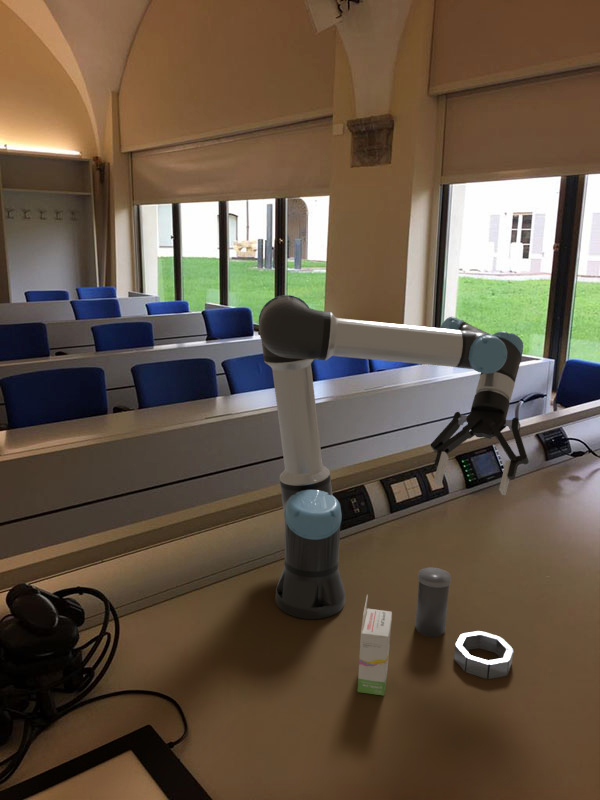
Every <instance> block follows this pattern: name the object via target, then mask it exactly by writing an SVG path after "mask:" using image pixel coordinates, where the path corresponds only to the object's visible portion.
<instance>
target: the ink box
mask: <svg viewBox="0 0 600 800" xmlns="http://www.w3.org/2000/svg"><path fill="white" fill-rule="evenodd" d="M368 595H369V594H366V597H365V603H364V608H363V613H362V620H361V626H360V627H361V628H360V641H359V642H360V643H359V644H360V645H359V657H358V658H359V659H358V660H359V661H358V675H357V677H358V678H357V693H363V694H367V695H368V694H369V695H376V696H385V691H386V685H387V676H388V669H389V659H390V657H389V655H390V645H391V644H390V643H391V630H392V622H393V621H392V618H393V612H392V611H391V610H390V611H389V610H383V609H380V610H379V609H375V608H374V609H373V608H369V607H368V608H367V606H368V605H367V604H368V599H369V598H368V597H369V596H368Z"/></svg>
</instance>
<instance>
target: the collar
mask: <svg viewBox="0 0 600 800" xmlns="http://www.w3.org/2000/svg"><path fill="white" fill-rule="evenodd" d="M477 649H481V650H484V651H488V652H492V653H494V654H496V655H497V656H498V658H494V659H489V660H488V659H484V658H482V657H478V656H474V655H471V654H470V653H469V651H470V650H477ZM513 656H514V648H512V646H511V645H510V644H509V643H508V642H507V641H506V640H505V639H504V638H503V637H501V636H498V635H496V634H492V633H490V632H486V631H481V630H476V631H470V632H464V633H461V634H460V635H459V637H458V638H457V641H456V642H455V645H454V655H453V660H454V661H455V662H456V663H457V664H458V666H459V667H460V668H461V669H462V670H463V672H465V673H466V674H469V675H473V676H477V677H478V678H482V679H486V680H487V679H488V680H491V679H497V678H498V679H499V678H502V677H506V676H508V675H509V672H510V670H511V667H512V665H513Z"/></svg>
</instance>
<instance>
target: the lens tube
mask: <svg viewBox="0 0 600 800" xmlns="http://www.w3.org/2000/svg"><path fill="white" fill-rule="evenodd" d="M417 579H418V588H417V599H416V613H415V623H414V624H415V625H414V626H415V630H416V631H417V632H418V633H419V634H420V635H423V636H426V637H429V638H438V637H441V636H443V635H444V634H445V633H446V625H447V624H446V623H447V613H448V611H447V610H448V602H449V592H450V591H449V590H450V585H451V583H452V582H451V581H452V580H451V579H452V576H451V574H450V573H449V572H448V571H446V570H444V569H443V568H439V567H424V568H422V569H420V570H419V571H418V574H417Z"/></svg>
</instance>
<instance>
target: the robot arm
mask: <svg viewBox="0 0 600 800" xmlns="http://www.w3.org/2000/svg"><path fill="white" fill-rule="evenodd" d="M258 332H259V338H260V339H261V347H262V354H263V355H262V356H263V361H264V363H265V364H266V365H268V366H269V367H270V368H271V370H272V377H273V378H272V379H273V385H274V393H275V399H276V409H277V410H276V411H277V418H278V423H279V425H278V426H279V431H280V440H281V448H282V456H283V463H284V470H283V472H281V473H280V475H279V482H280V483H279V484H280V490H281V493H280V494H281V502H282V503H281V504H282V507H283V519H284V520H283V521H284V522H283V523H284V564H283V565H284V566H283V569H282V572H281V575H280V577H279V580H278V582H277V585H276V588H275V598H274V599H275V604H276V606H277V607H278V608H279V609H280V611H282V612H283V613H285V614H287V615H290V616H292V617H293V618H294V617H295V618H299V619H306V620H319V619H326V618H329V617H332V616H334V615H336V614H338V613H340V612H341V611H342V610H343V609H344V607H345V604H346V590H345V586H344V584H343V580H342V576H341V574H340V573H341V572H340V571H339V569H340V568H339V563H340V562H339V561H340V541H341V540H340V538H341V524H342V519H343V518H342V509H341V508H342V507H341V503H340V501H339V500H338V499H337V498H336V497H335V496H334V495H333V488H332V481H331V472H330V470H329V469H328V467H326V466H324V464H323V459H322V449H321V441H320V433H319V432H320V431H319V424H318V423H319V422H318V415H317V406H316V395H315V387H314V386H315V385H314V380H313V379H314V378H313V371H312V363H313V362H314V360H315V361H316V360H317V361H328V360H329V359H330V358H331V357H341V358H351V359H364V360H374V361H385V362H395V363H396V362H398V363H407V364H419V365H428V366H429V365H430V366H439V367H440V366H441V367H449V368H450V367H453V368H458V369H467V370H468V369H470V370H474V371H475V372H478V373H480V375H479V380H478V382H477V387H476V390H475V395H474V397H473V400H472V405H471V408H470V412H469V413H468V415H465V414H461V413H460V411H456V412H455V413H454V414H453V417H452V419H451V420H450V422H449V423H448V424H447V425H446V427H445V428H443V430H442V431H441V432H440V433H439V434H438V435H437V436H436V437H435V439H434V440H433V441H432V442H431V443H430V447H431V449H432V450H433V452H435V453H437V454H436V456H435V459H434V460H435V461H434V466H435V468H436V471H435V475H434V478H433V479H434V481H435V483H436V485H439V486H442V484H443V483H442V482H443V479H444V475H445V472H446V469H447V466H448V461H449V453H450V452H452V451H453V450H455V449H457V448H458V446H461V444H463V443H464V442H466V441H467V440H468V439H471V438H473V437H474V436H475V437H476V438H485V439H488V440H489V439H490V440H491V439H492V438H494V437H495V439H496V440H497V441H498V443H499V445H500V447H501V448H502V450H503V451H504V453H505V455H506V456H507V457H508V459H506V460H505V463H504V469H503V473H502V476H501V481H500V484H499V487H498V490H499V492H500V494H501V496H506V495H507V490H508V487H509V482H510V480H514V479H515V478H516V474H517V470H518V467H519V466H520V465H528V464H529V459H528V455H527V452H526V449H525V446H524V441H523V439H522V436H521V433H520V432H521V424H520V420H519V418H518V417H513V418H512V419H507V416H508V412H509V409H510V404H511V403H510V401H511V400H512V396H513V394H514V389H515V384H516V381H517V377H518V373H519V368H520V365H521V363H522V360H523V353H524V352H523V351H524V341H523V340H522V339H521V337H519V335H517V334H515V333H512V332H507V331H497V332H495V333H493V334H491V333H489V332H486V331H484V330H482V329H480V328H478V327H476V326H473V325H472V324H470V323H468V322H466V321H464V320H462V319H459V318H457V317H455V316H449V317H447V318H446V319H445V320H444V321H442V323H441V325H440V326H439V327H429V326H420V325H412V324H411V325H410V324H401V323H391V322H389V323H388V322H381V321H380V322H379V321H371V320H361V319H350V318H340V317H336V316H335V315H334V313H333V312H331V311H325V310H324V311H323V310H317V309H313V308H310V307H309V305H308V304H307V303H306V302H305V301H304V300H303V299H302V298H300V297H298V296H295V295H291V294H290V295H288V294H287V295H286V294H285V295H283V294H282V295H278V296H275V297H274V298H271V299H269V300H268V301H267V302H266V303H265V304H264V305H263V306H262V308H261V309H260V312H259V316H258ZM464 423H467V424H465V426H463V425H464ZM461 426H463V427H462V429H461V430H460V431H459V432H457V431H458V430H459V429H460V428H461ZM506 427H508V429H509V430H510V431H512V435H513V438H514V441H515V444H516V448H517V451H518V454H519V455H516V454H515V453H514V451H513V450H512V448H511V446H510V445H509V443H508V442H507V440H506V438H505V437H504V435H503V433H502V431H503V430H504V429H505V428H506ZM456 432H457V433H456ZM455 433H456V434H455Z"/></svg>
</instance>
